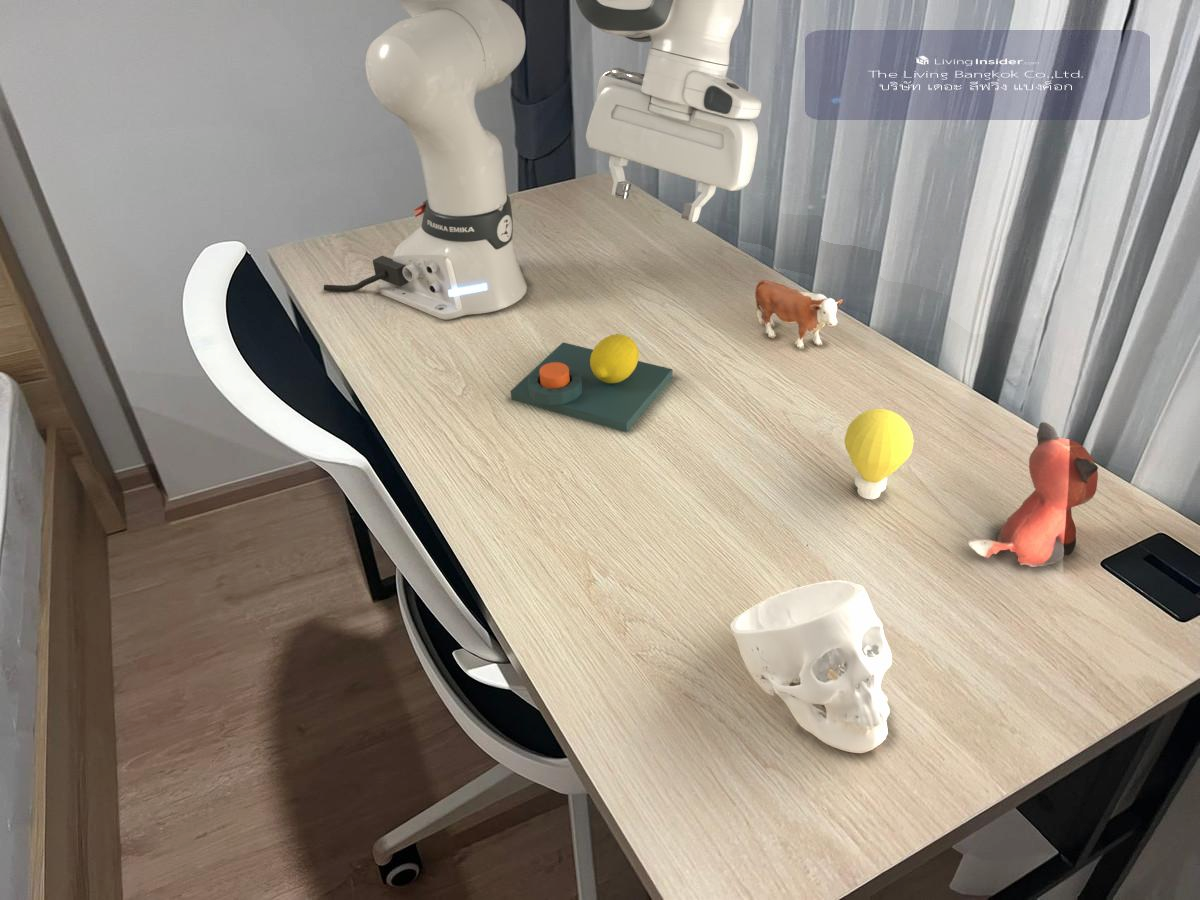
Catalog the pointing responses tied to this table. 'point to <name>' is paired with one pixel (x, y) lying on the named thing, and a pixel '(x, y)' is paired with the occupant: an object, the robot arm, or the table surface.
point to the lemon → (614, 358)
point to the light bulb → (877, 448)
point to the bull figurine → (795, 309)
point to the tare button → (554, 375)
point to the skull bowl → (821, 660)
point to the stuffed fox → (1047, 503)
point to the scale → (594, 390)
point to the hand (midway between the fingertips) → (653, 208)
